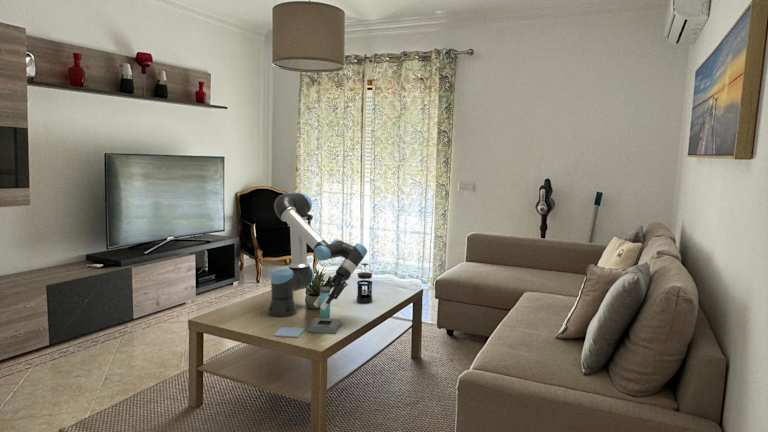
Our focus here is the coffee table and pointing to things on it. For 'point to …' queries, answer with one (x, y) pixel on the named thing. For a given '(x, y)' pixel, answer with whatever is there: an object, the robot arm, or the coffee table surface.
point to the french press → (364, 295)
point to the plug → (323, 295)
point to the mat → (289, 332)
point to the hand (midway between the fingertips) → (318, 307)
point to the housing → (324, 325)
